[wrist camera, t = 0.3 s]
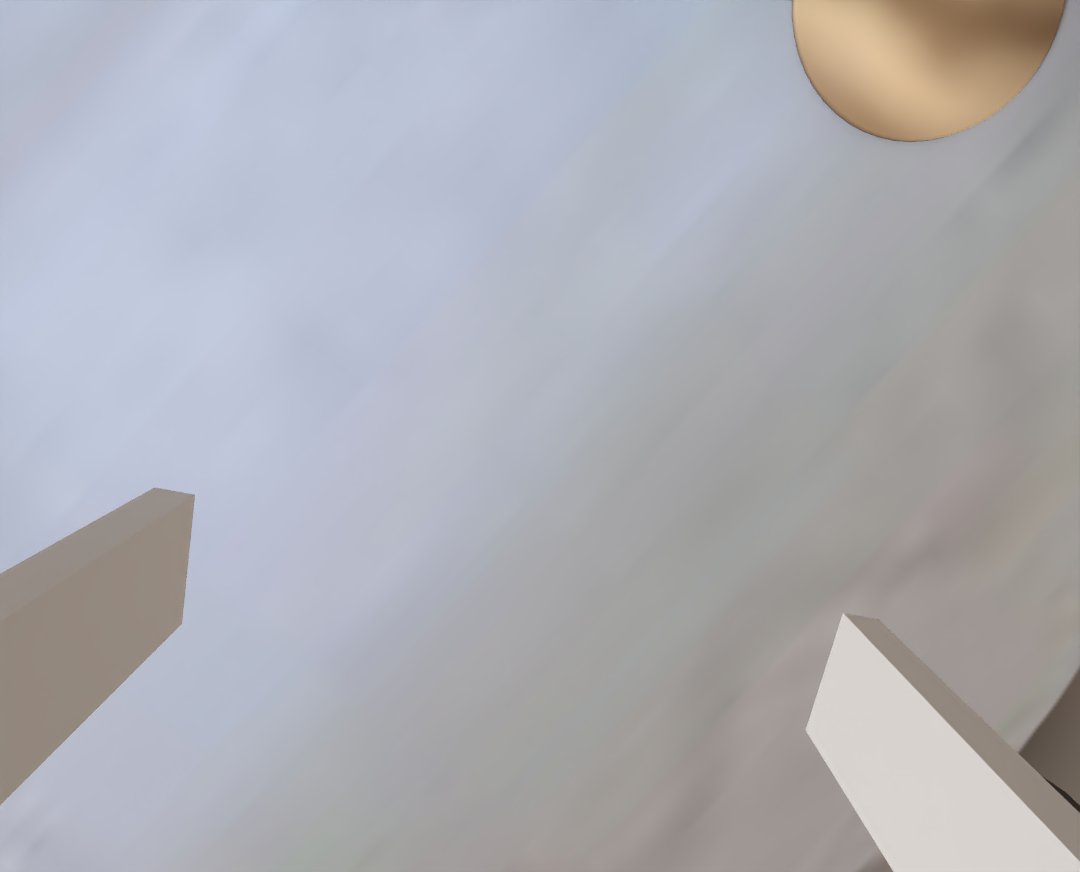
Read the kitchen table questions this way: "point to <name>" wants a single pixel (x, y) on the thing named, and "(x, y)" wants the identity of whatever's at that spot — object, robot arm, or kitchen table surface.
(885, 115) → the coaster
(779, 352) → the kitchen table surface
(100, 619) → the robot arm
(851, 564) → the kitchen table surface
